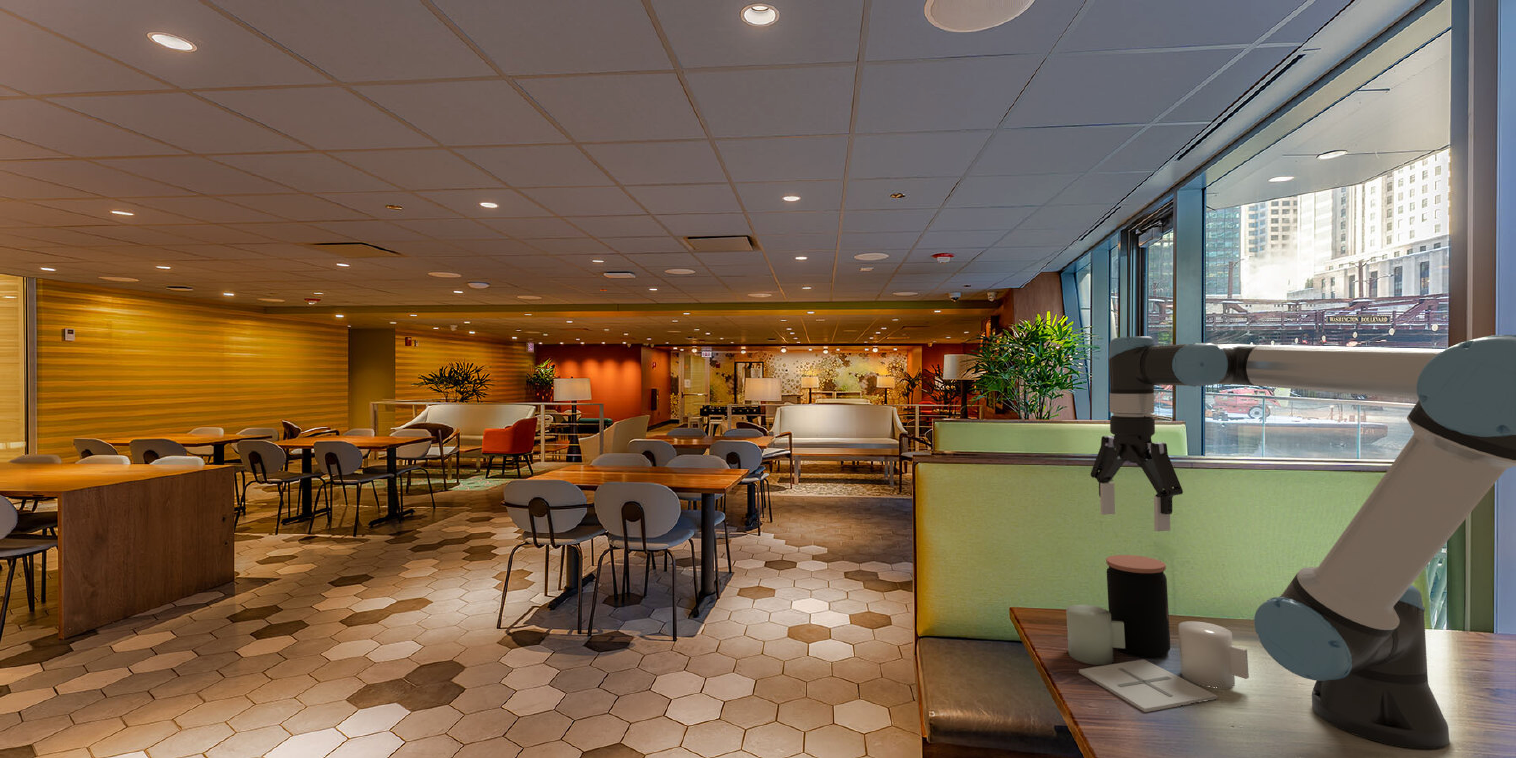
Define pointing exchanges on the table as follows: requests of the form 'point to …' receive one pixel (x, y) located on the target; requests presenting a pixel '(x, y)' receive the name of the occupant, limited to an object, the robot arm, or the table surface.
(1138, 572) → the coffee jar
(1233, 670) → the mug cream
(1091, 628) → the mug sage
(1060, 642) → the table surface
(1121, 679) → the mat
